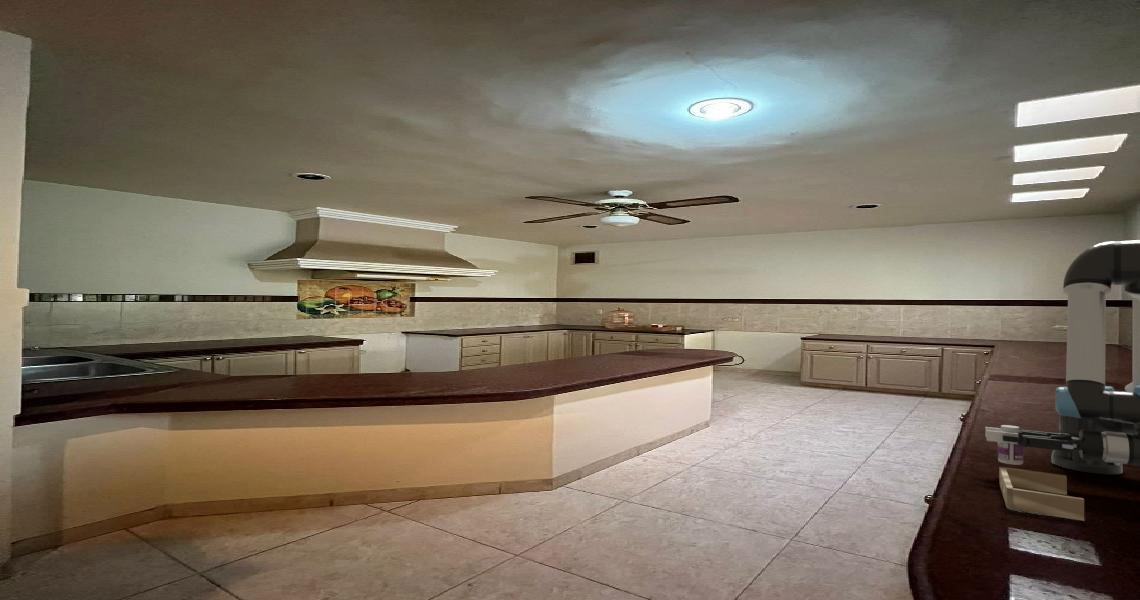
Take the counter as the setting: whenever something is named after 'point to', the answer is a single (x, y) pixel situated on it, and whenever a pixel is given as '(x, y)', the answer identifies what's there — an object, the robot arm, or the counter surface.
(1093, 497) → the counter surface
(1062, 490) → the wooden frame
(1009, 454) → the pill bottle
